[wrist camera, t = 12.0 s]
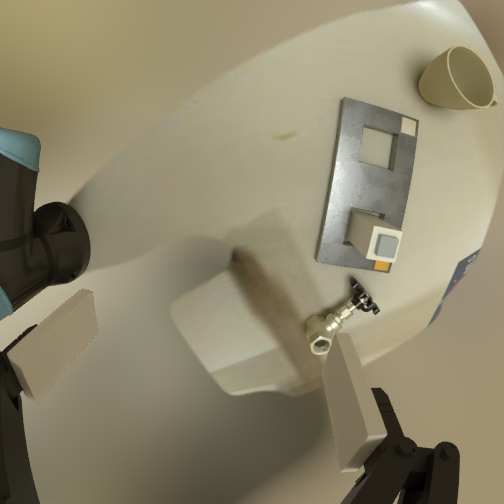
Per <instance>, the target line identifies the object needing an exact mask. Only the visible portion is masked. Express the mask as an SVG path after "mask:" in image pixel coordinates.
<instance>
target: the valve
mask: <svg viewBox="0 0 504 504" xmlns="http://www.w3.org/2000/svg"><path fill="white" fill-rule="evenodd" d="M350 283H351V284H350V285H351V286H352V287H353V289H354V288H356V289H357V291H358V292H357V293H356V294H355V295H354V297H353V299H352V300H351V302H352V304H351V305H350V306H349V307H348V306H347V305H345V306H344V307H343V308H342V309H340V313H339V314H337V313H336V314H332V313H330V314H329V315H328V316H327V317H326V319H325V317H323V316H319V315H313V316H312V317H310V318H309V319H308V320H307V321H306V326H307V330H306V339H307V341H308V343H309V344H310V346H311V351H312V353H313V354H316V355H325V354H327V353H328V352H329V349H330V346H331V344H332V338H331V337H332V333H333V332H334V331H339V330H340V329H341V328H342V325H341V324H342V323H343V319H348V318H350V317H351V316H352V315H353V312H352V311H353V310H355V309H356V308H357V309H358V310H360V309H361V310H362V311H364V312H369V311H370V310H373V313H374V314H375V315H376V314H377V313H378V312H380V310H379V307H378V306H377V305H376V303H374V302H373V301H372V298H371V296H370V295H369V294H367V293H366V292H365V290H364V288H363V287H362V286H361V285H359V283H358V281H357V280H356V279H354V280H352V281H351V282H350ZM366 303H367V304H366ZM365 304H366V306H367V307H368V308H364V305H365Z"/></svg>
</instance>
